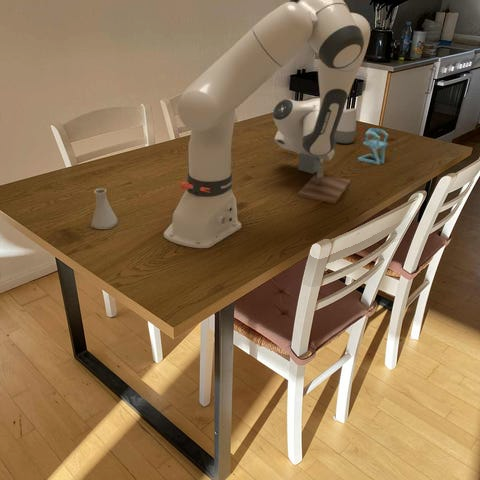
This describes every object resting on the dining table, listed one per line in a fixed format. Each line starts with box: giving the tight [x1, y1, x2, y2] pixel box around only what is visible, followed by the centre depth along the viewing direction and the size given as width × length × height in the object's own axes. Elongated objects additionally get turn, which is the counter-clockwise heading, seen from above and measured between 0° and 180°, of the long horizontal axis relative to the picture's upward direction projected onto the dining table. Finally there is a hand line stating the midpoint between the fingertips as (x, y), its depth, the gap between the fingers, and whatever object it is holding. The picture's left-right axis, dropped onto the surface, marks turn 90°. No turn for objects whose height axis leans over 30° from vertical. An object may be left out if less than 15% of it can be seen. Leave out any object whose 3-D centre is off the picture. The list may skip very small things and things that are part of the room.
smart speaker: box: [335, 107, 357, 145], centre depth 198 cm, size 10×9×14 cm
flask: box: [90, 188, 119, 230], centre depth 131 cm, size 7×7×10 cm
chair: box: [357, 127, 389, 165], centre depth 179 cm, size 8×8×12 cm
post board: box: [297, 164, 351, 204], centre depth 155 cm, size 18×12×8 cm, turn 154°
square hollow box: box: [297, 153, 323, 175], centre depth 171 cm, size 6×6×8 cm
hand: (311, 157), depth 171 cm, fingers closed on square hollow box, 6 cm apart
